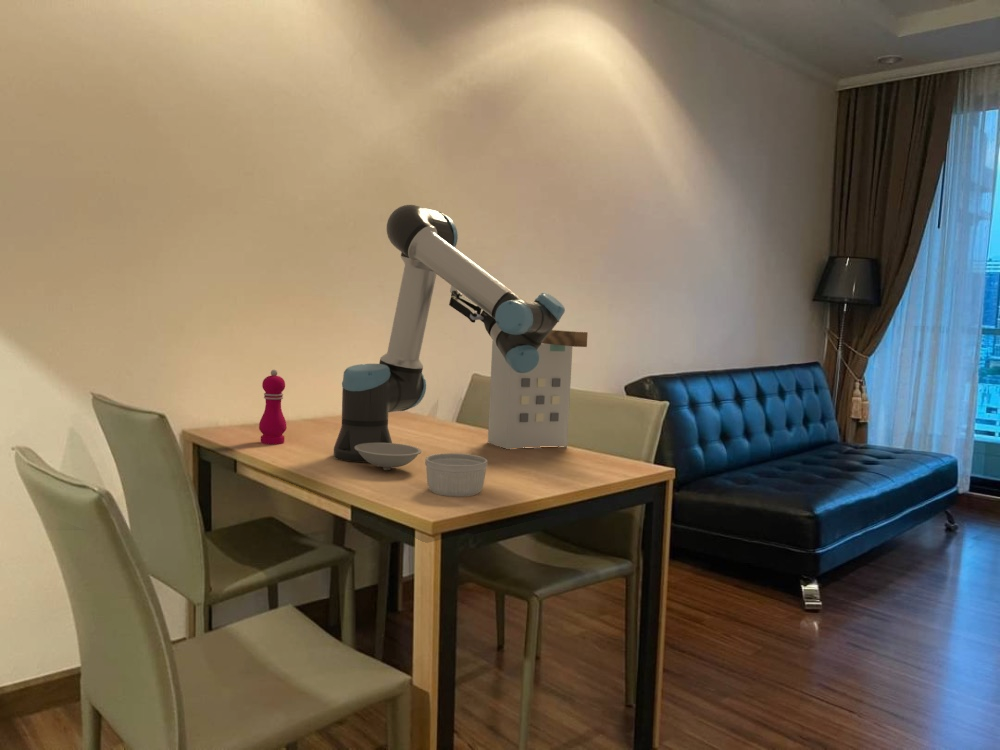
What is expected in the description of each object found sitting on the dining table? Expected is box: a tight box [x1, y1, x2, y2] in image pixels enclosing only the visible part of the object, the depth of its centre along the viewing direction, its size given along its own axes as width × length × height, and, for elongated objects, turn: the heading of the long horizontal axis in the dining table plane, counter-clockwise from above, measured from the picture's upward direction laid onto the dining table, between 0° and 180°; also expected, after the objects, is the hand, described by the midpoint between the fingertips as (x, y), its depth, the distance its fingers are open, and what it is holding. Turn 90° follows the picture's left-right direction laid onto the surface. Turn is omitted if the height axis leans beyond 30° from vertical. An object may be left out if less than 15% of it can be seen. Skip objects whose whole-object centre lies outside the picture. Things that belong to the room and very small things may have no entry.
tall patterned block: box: [487, 340, 573, 450], centre depth 227 cm, size 13×20×30 cm, turn 117°
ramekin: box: [424, 452, 488, 498], centre depth 165 cm, size 13×13×7 cm
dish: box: [354, 442, 422, 471], centre depth 184 cm, size 18×14×5 cm
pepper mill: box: [258, 369, 287, 445], centre depth 211 cm, size 7×7×20 cm
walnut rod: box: [542, 329, 588, 348], centre depth 226 cm, size 32×4×4 cm, turn 27°
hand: (474, 288), depth 215 cm, fingers open, 13 cm apart
